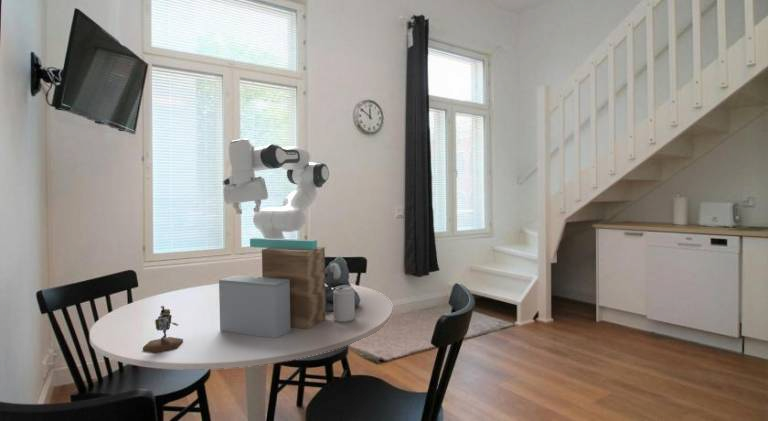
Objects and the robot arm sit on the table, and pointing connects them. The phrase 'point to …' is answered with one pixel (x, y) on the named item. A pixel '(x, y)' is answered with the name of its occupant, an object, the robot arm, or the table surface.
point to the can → (344, 303)
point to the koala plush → (336, 281)
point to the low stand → (255, 305)
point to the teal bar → (283, 243)
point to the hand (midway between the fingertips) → (248, 213)
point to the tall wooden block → (299, 281)
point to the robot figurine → (164, 342)
